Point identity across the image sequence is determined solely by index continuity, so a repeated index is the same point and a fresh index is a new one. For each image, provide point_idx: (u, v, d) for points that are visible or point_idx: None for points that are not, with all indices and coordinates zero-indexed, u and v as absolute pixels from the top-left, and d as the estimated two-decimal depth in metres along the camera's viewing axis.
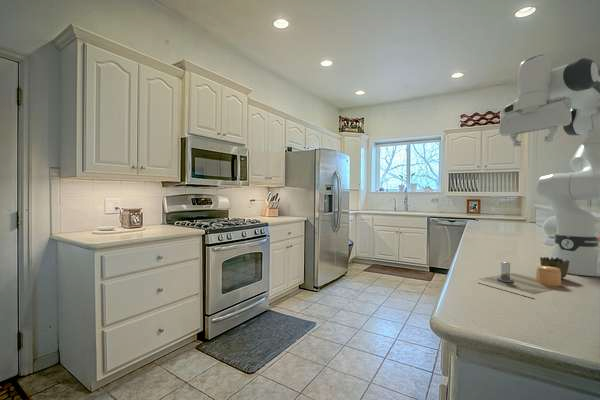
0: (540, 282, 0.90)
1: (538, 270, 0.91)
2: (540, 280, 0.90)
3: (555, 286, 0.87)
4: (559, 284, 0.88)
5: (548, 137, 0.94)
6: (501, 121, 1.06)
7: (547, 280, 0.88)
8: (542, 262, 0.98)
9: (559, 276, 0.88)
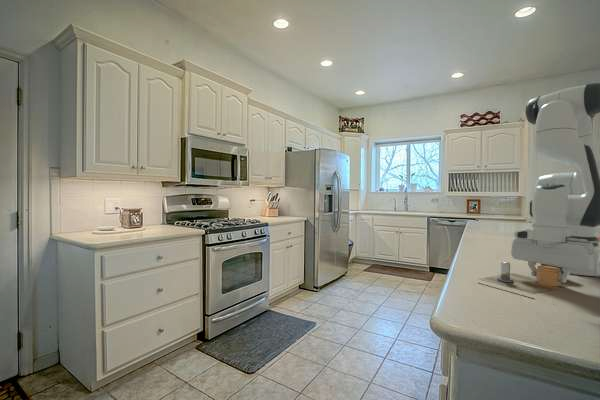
0: (540, 282, 0.90)
1: (538, 270, 0.91)
2: (540, 280, 0.90)
3: (555, 286, 0.87)
4: (559, 284, 0.88)
5: (562, 278, 0.86)
6: (513, 244, 0.97)
7: (547, 280, 0.88)
8: None
9: None
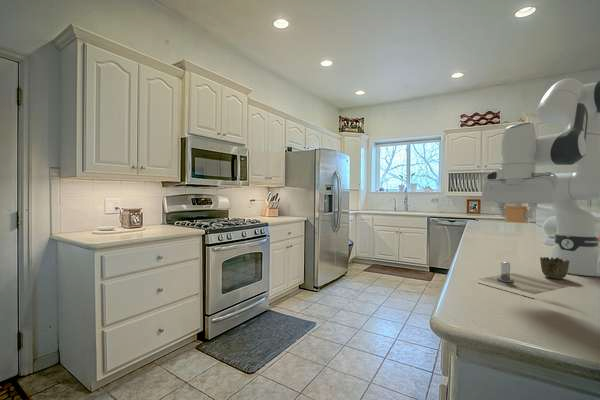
0: (508, 220, 0.91)
1: (506, 209, 0.92)
2: (508, 218, 0.91)
3: (555, 286, 0.87)
4: (525, 221, 0.89)
5: (528, 214, 0.87)
6: (484, 187, 0.98)
7: (514, 217, 0.89)
8: (542, 262, 0.98)
9: None
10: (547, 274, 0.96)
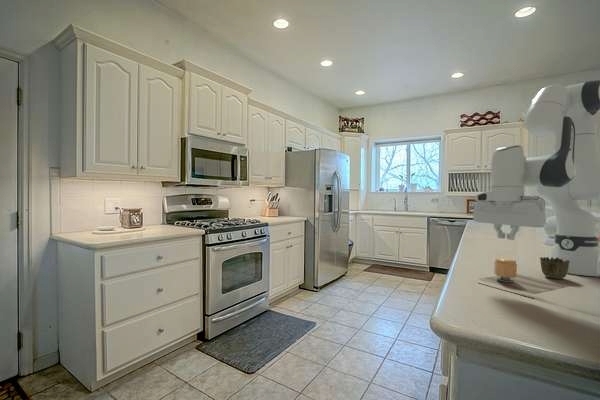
0: (497, 274, 0.92)
1: (495, 262, 0.93)
2: (497, 272, 0.92)
3: (555, 286, 0.87)
4: (514, 276, 0.90)
5: (510, 236, 0.90)
6: (475, 207, 0.99)
7: (503, 272, 0.90)
8: (542, 262, 0.98)
9: (514, 268, 0.90)
10: (547, 274, 0.96)
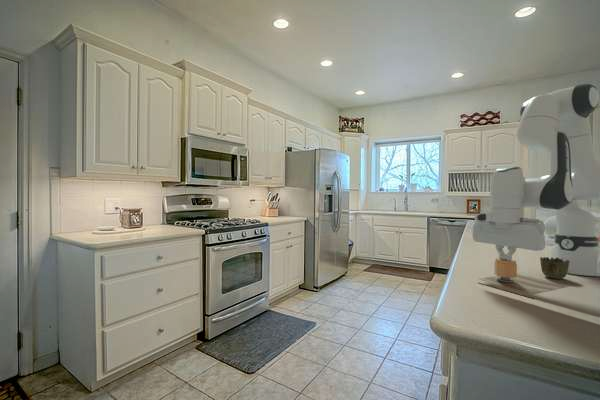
0: (497, 274, 0.92)
1: (496, 262, 0.93)
2: (497, 272, 0.92)
3: (555, 286, 0.87)
4: (515, 276, 0.90)
5: (507, 257, 0.91)
6: (474, 227, 0.99)
7: (503, 272, 0.90)
8: (542, 262, 0.98)
9: (514, 268, 0.90)
10: (547, 274, 0.96)
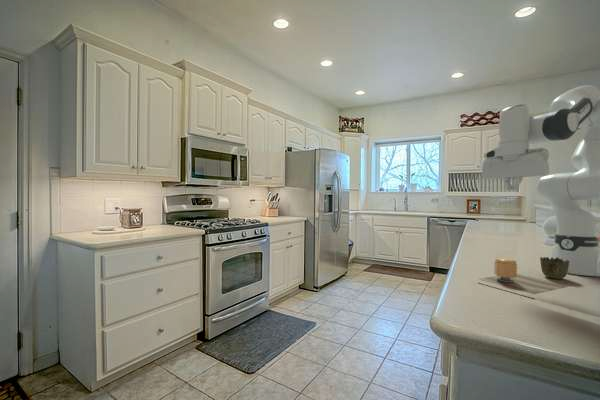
0: (497, 274, 0.92)
1: (496, 262, 0.93)
2: (497, 272, 0.92)
3: (555, 286, 0.87)
4: (515, 276, 0.90)
5: (514, 186, 1.00)
6: (483, 165, 1.09)
7: (503, 272, 0.90)
8: (542, 262, 0.98)
9: (514, 268, 0.90)
10: (547, 274, 0.96)
